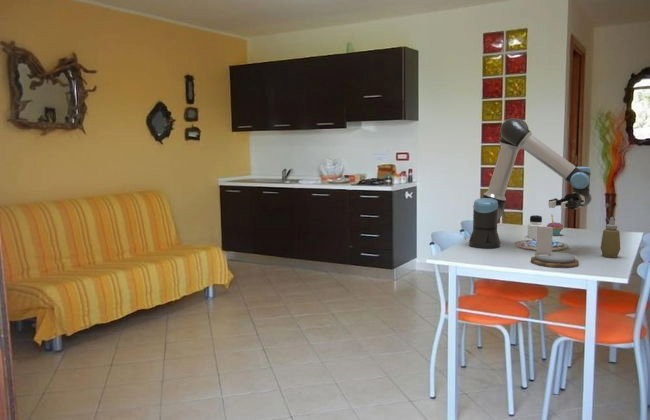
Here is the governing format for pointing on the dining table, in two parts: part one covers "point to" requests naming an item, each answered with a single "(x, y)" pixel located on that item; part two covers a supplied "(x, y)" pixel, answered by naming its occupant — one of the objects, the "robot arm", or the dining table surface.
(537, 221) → the medicine bottle
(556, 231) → the cupcake
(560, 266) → the base
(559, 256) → the dial
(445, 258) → the dining table surface
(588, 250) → the dining table surface
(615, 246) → the squeeze bottle
